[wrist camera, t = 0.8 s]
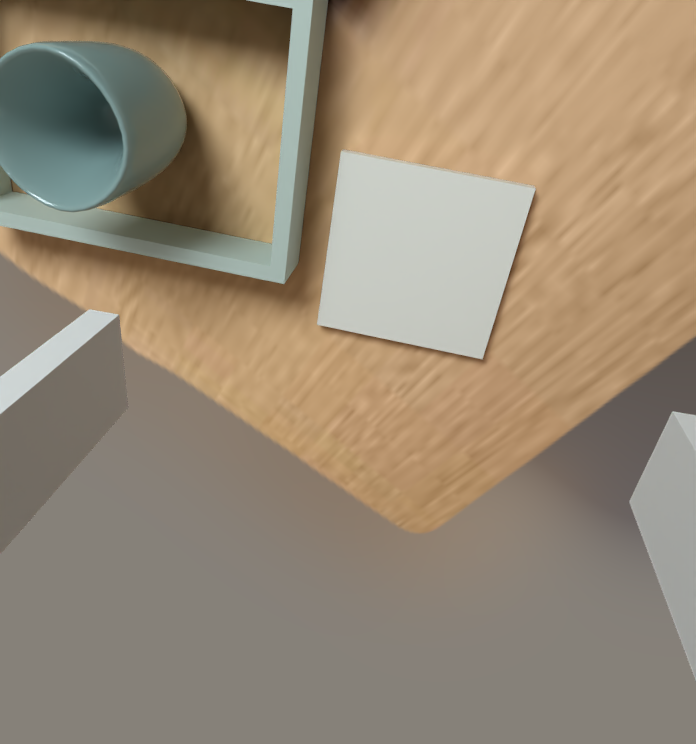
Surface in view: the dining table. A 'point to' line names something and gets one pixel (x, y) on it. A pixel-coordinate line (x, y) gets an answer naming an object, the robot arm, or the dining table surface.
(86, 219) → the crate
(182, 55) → the dining table surface
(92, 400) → the robot arm
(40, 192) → the cup
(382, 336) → the plate
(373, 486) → the dining table surface
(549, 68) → the dining table surface
